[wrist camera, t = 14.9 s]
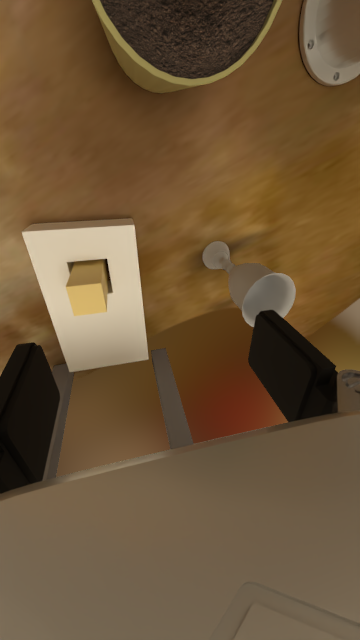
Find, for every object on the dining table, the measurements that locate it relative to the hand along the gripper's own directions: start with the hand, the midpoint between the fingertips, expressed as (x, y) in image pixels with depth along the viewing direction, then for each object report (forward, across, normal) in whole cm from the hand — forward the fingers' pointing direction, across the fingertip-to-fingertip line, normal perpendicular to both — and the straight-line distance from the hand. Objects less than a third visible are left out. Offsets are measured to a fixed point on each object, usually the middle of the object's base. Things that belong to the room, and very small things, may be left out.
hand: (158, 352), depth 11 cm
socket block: (+32, +6, +12) cm, 35 cm away
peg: (+32, +6, +7) cm, 34 cm away
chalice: (+32, -15, +7) cm, 36 cm away
